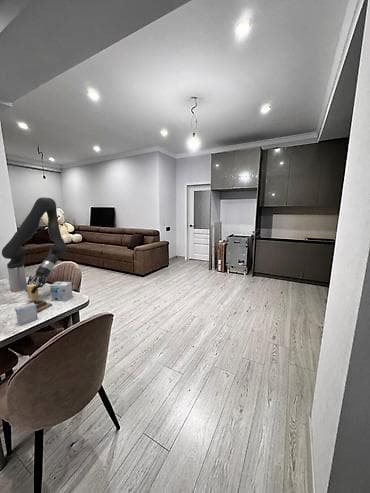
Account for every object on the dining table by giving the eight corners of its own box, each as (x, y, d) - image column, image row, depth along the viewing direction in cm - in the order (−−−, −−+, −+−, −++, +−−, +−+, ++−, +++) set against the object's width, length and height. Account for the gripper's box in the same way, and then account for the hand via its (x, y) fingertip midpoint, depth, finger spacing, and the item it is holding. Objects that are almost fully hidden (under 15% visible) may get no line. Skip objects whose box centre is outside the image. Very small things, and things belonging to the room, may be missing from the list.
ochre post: (27, 298, 126) (26, 286, 125) (34, 295, 130) (32, 283, 128) (32, 298, 125) (31, 287, 123) (38, 296, 129) (37, 284, 127)
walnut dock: (17, 312, 114) (16, 306, 114) (37, 302, 126) (36, 297, 125) (33, 315, 111) (32, 309, 111) (52, 305, 123) (51, 300, 122)
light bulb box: (51, 300, 129) (49, 285, 127) (57, 296, 135) (56, 281, 133) (67, 301, 128) (65, 285, 126) (73, 296, 135) (71, 281, 133)
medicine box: (35, 316, 110) (33, 302, 108) (38, 319, 107) (35, 304, 106) (17, 322, 104) (14, 307, 102) (19, 325, 101) (17, 310, 100)
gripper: (33, 264, 133) (16, 288, 124) (49, 267, 129) (33, 291, 120) (41, 270, 139) (25, 293, 130) (57, 272, 135) (42, 296, 126)
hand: (29, 292), depth 125 cm, fingers closed on ochre post, 4 cm apart
